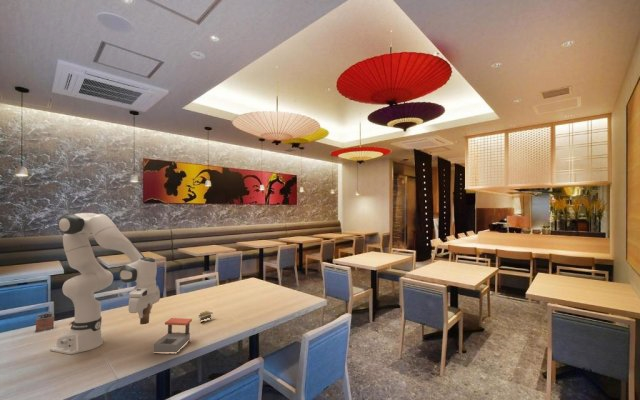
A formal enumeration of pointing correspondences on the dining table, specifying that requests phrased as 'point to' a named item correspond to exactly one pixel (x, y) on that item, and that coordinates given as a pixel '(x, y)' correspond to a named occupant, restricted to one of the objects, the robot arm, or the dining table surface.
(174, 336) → the socket stand
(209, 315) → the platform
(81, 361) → the dining table surface
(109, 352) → the dining table surface
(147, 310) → the walnut peg
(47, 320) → the brick wall piece
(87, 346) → the robot arm
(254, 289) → the dining table surface
